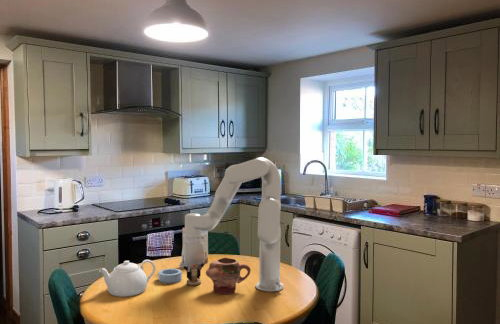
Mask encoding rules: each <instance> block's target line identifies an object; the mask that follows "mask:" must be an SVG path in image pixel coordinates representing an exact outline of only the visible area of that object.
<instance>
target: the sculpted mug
mask: <svg viewBox="0 0 500 324" xmlns="http://www.w3.org/2000/svg"><path fill="white" fill-rule="evenodd" d="M242 269H245V270H246V271H247V273H246V274H245V276H241V271H242ZM250 274H251V267H250V266H249V265H248V264H245V263H239V261H238V260H237V259H234V258H231V257H221V258H218V259H215V260H213V261H211V262H210V264H209V266H208V267H207V269H206V271H205V275H206V276H207V277H208V278H209V279H210V280H211V281H212V283H213V284H212V285H213V292H214V293H216V294H218V295H231V294H234V293H235V291H236V289H237V284H240V283H242V282H244V281H245V280H246V279H247V278H248V277H249V276H250Z"/></svg>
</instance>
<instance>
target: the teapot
mask: <svg viewBox="0 0 500 324" xmlns="http://www.w3.org/2000/svg"><path fill="white" fill-rule="evenodd" d="M145 263H150V264H151V265H152V271H151V273H150V274H149V275H148V276H147V274H146V272H145V271H144V264H145ZM155 272H156V265H155V263H154V261H152V260H150V259H144V260H143V261H142V262H141V263H140V265H139V264H137V263H134V262H130V260H124V261H123V263H120V264H118V265H116V267H115V266H114V268H113V270H112V271H111V272H110V273H109V272H108V270H107V269H106V268H104V267H100V269H99V270H98V273H102V276H103V281H104V283H105V285H106V287H107V291H108V293H109V294H110V295H112V296H113V297H121V298H124V297H133V296H136V295H139V294H142V293H143V292H145V291H146V289H147V287H148V283H149V280H150V279H151V278H152V276H153V275H154V274H155Z"/></svg>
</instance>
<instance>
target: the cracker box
mask: <svg viewBox="0 0 500 324" xmlns="http://www.w3.org/2000/svg"><path fill="white" fill-rule="evenodd" d="M181 232H182V244H183V243H185V227H182V231H181ZM208 235H209V231H204V230H201V236H202V237H203V236H204V239H202V241H201V242H203V247H204V255H205V259H206V260H207V263H208V262H209V236H208ZM183 265H184V266H186V265H185V264H183ZM191 267H197V264H195V265H191ZM191 267H190V268H191Z"/></svg>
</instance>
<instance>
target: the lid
mask: <svg viewBox="0 0 500 324" xmlns="http://www.w3.org/2000/svg"><path fill="white" fill-rule="evenodd" d="M190 271H191V280H189V279H187V280H186V285H188V286H193V287H194V286H198V285H200V284H201V283H202V280H201V278H200V279H198V274H197V266H193V267H190Z"/></svg>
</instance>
